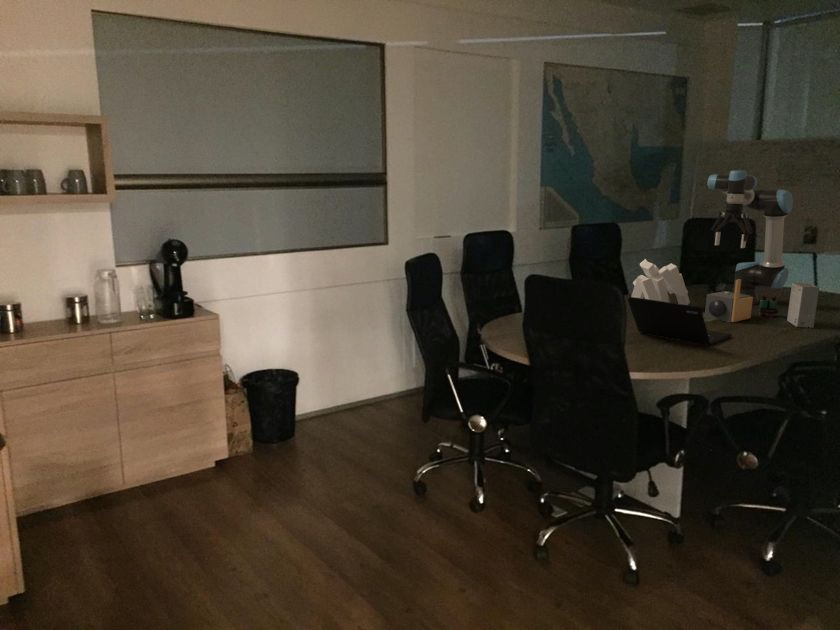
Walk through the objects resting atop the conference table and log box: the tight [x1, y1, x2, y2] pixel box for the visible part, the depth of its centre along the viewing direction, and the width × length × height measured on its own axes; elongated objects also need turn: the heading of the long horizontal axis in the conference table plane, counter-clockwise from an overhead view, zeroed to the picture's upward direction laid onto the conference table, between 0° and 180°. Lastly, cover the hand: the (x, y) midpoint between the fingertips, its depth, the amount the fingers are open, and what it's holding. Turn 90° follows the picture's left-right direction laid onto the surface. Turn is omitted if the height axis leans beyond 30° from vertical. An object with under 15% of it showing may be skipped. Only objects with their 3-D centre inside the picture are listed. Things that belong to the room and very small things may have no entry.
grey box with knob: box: [704, 290, 750, 323], centre depth 339 cm, size 18×14×13 cm
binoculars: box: [758, 295, 780, 319], centre depth 344 cm, size 9×11×10 cm
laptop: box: [627, 296, 733, 346], centre depth 297 cm, size 33×38×19 cm
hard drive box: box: [786, 281, 820, 329], centre depth 326 cm, size 16×8×20 cm, turn 168°
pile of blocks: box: [630, 258, 691, 305], centre depth 359 cm, size 35×30×35 cm
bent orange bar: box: [730, 279, 753, 323], centre depth 332 cm, size 16×1×21 cm, turn 125°
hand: (729, 246), depth 328 cm, fingers open, 13 cm apart
